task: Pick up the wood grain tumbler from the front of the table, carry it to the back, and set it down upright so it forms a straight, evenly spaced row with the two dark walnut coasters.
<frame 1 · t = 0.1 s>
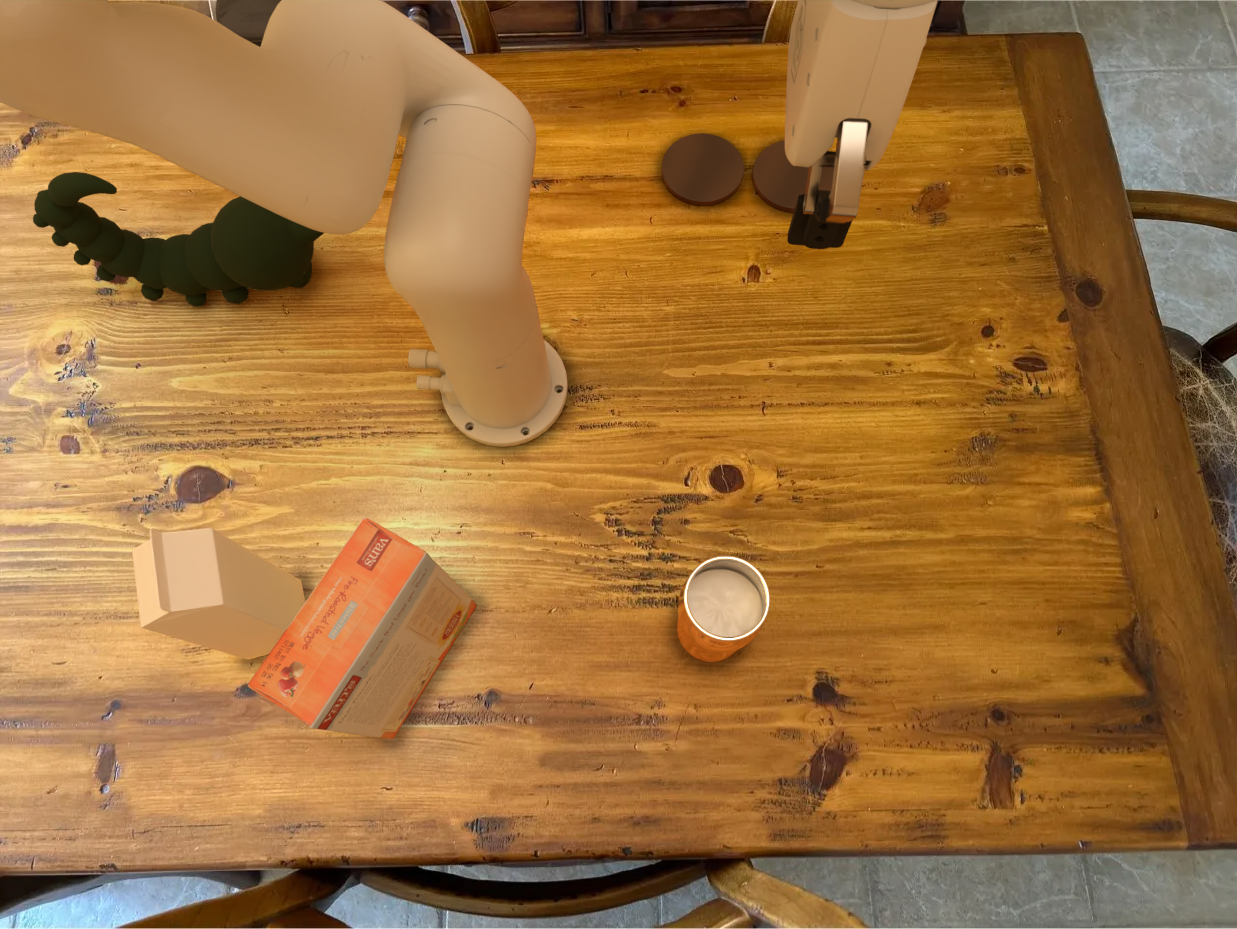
hand: (815, 172, 53), 37 cm above the table, tool pointing down, fingers open, 9 cm apart
cracker box: (410, 655, 81), on the table
coaster b: (793, 178, 97), on the table
wood grain tumbler: (709, 628, 81), on the table
coffee jar: (324, 130, 100), on the table
coaster a: (702, 171, 97), on the table
toy figurine: (239, 280, 94), on the table
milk: (276, 620, 82), on the table
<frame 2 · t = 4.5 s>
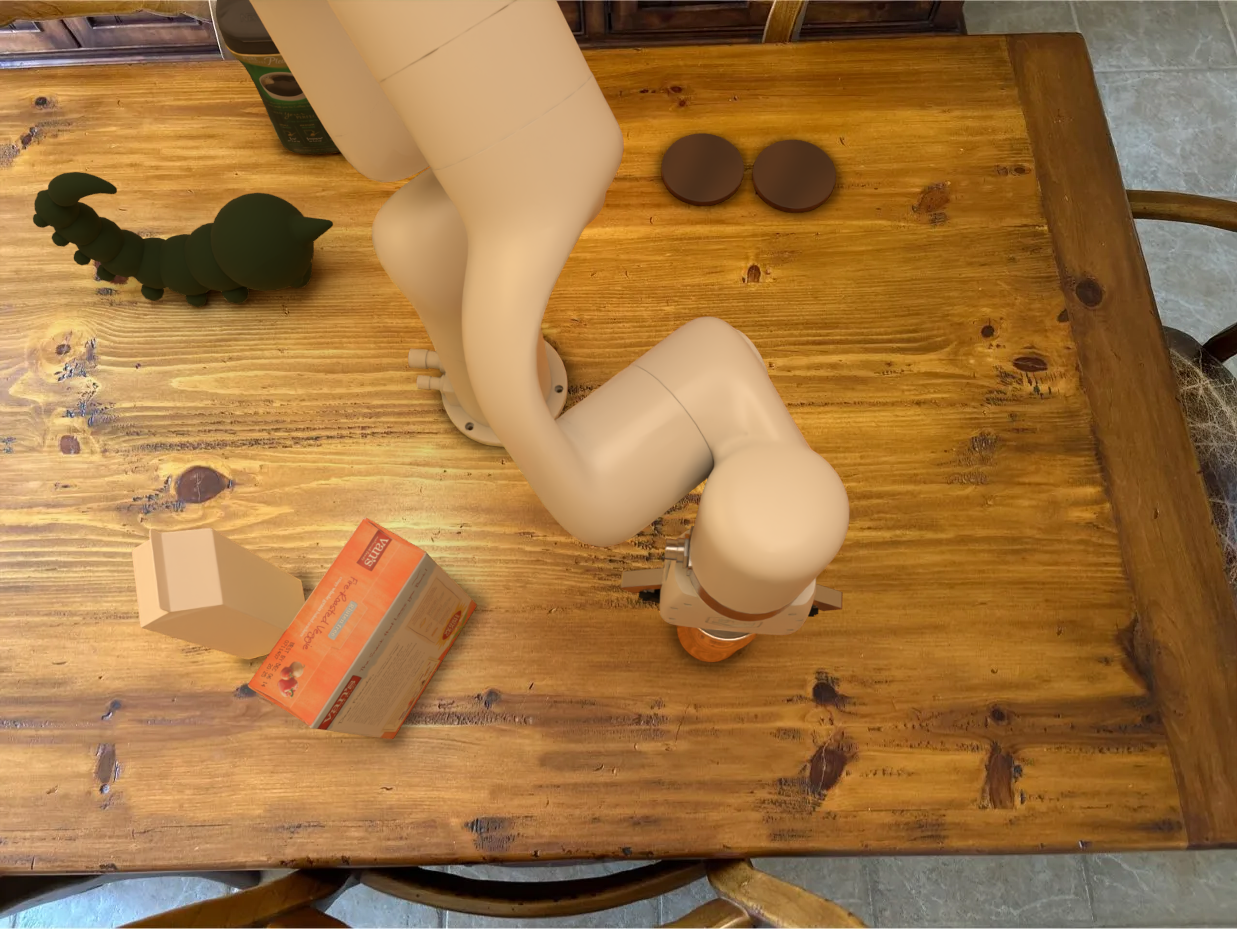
hand: (720, 609, 71), 10 cm above the table, tool pointing down, fingers closed on wood grain tumbler, 7 cm apart
wood grain tumbler: (709, 628, 81), on the table, touching gripper
everything else where it was.
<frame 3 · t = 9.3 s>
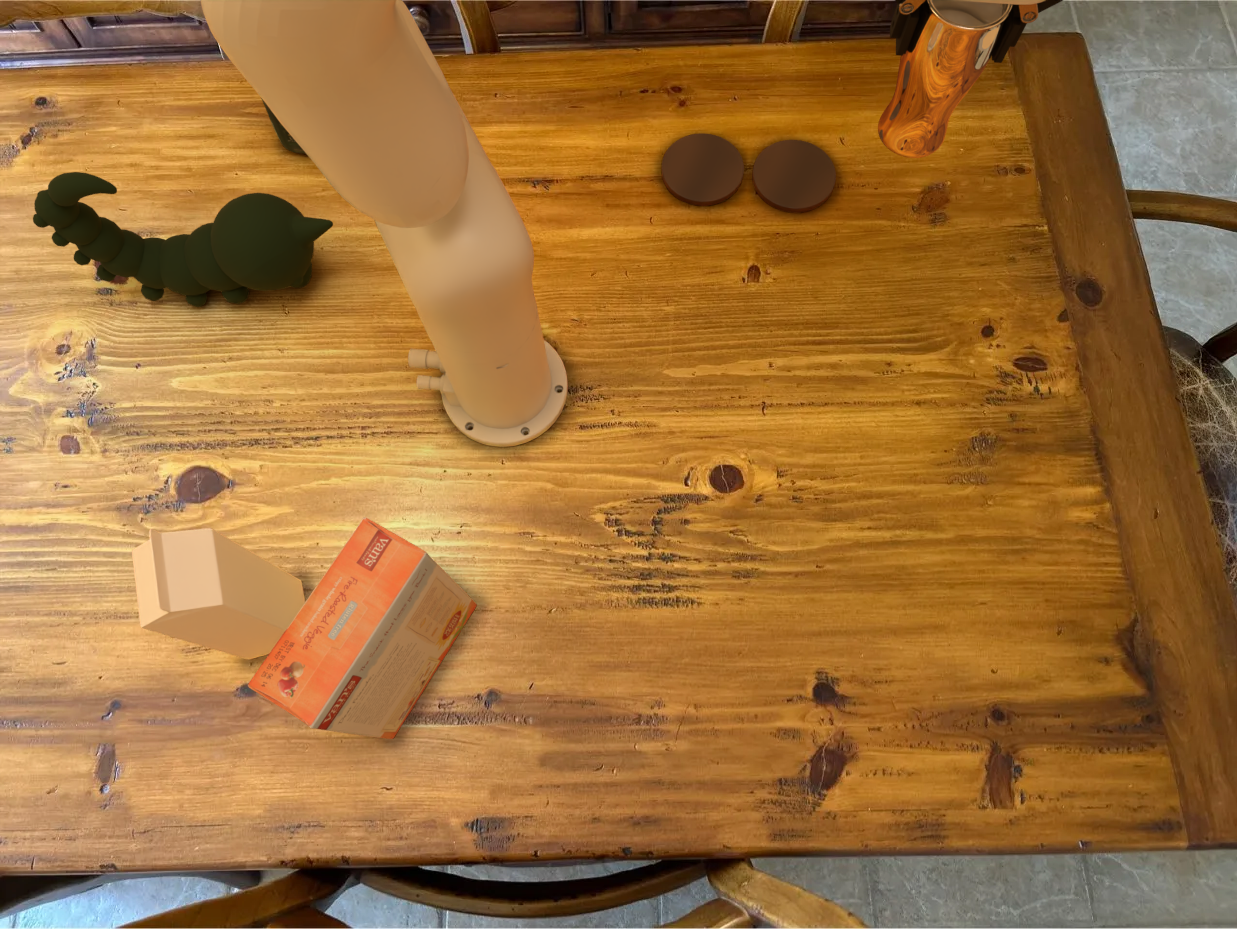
hand: (948, 44, 71), 25 cm above the table, tool pointing down, fingers closed on wood grain tumbler, 7 cm apart
wood grain tumbler: (910, 132, 81), point 15 cm above the table, touching gripper
everything else where it was.
when the fingers open (10 cm above the table, at t = 14.4 s): wood grain tumbler stays where it is, on the table.
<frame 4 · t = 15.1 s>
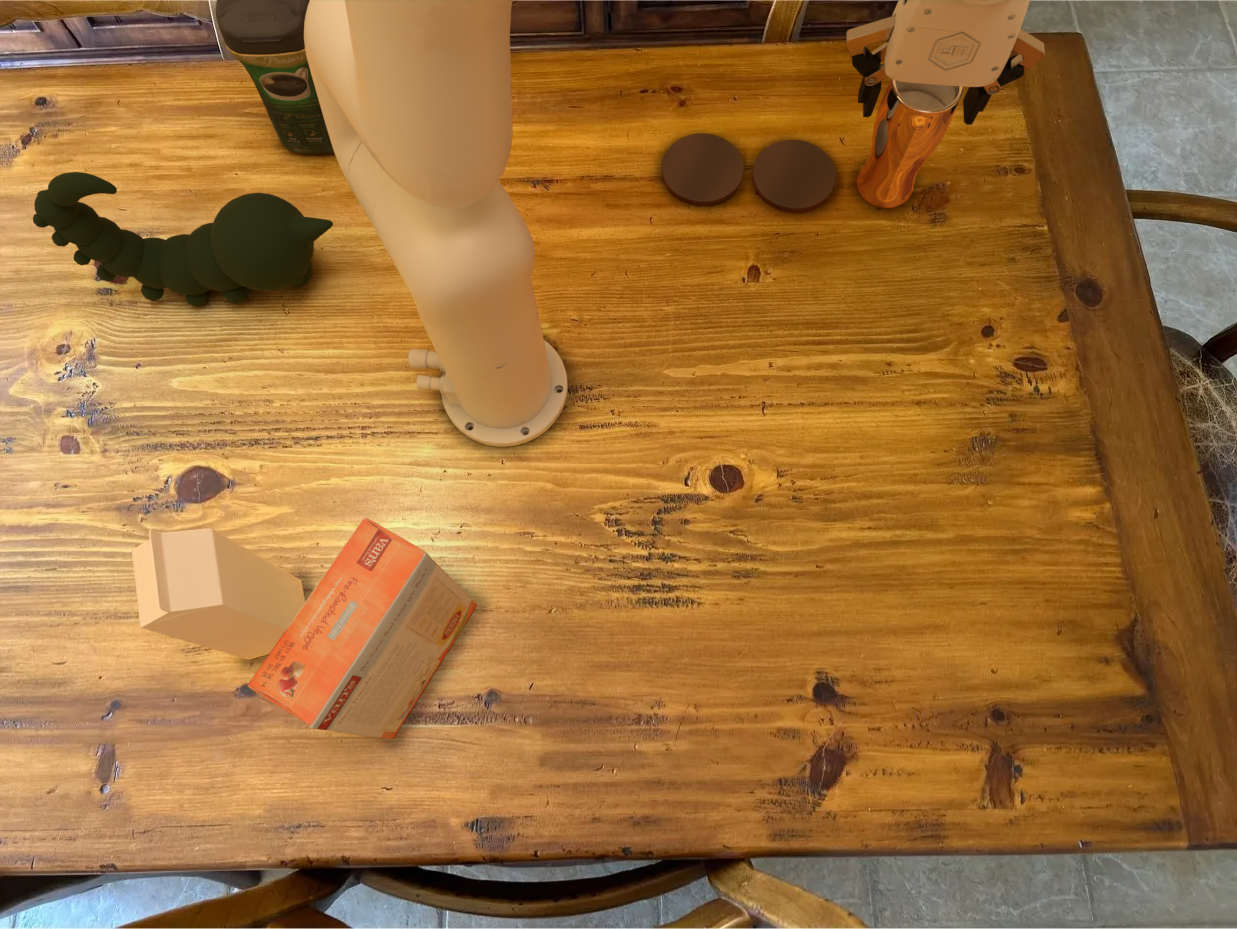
hand: (916, 109, 86), 12 cm above the table, tool pointing down, fingers open, 9 cm apart
wood grain tumbler: (883, 186, 97), on the table
everything else where it was.
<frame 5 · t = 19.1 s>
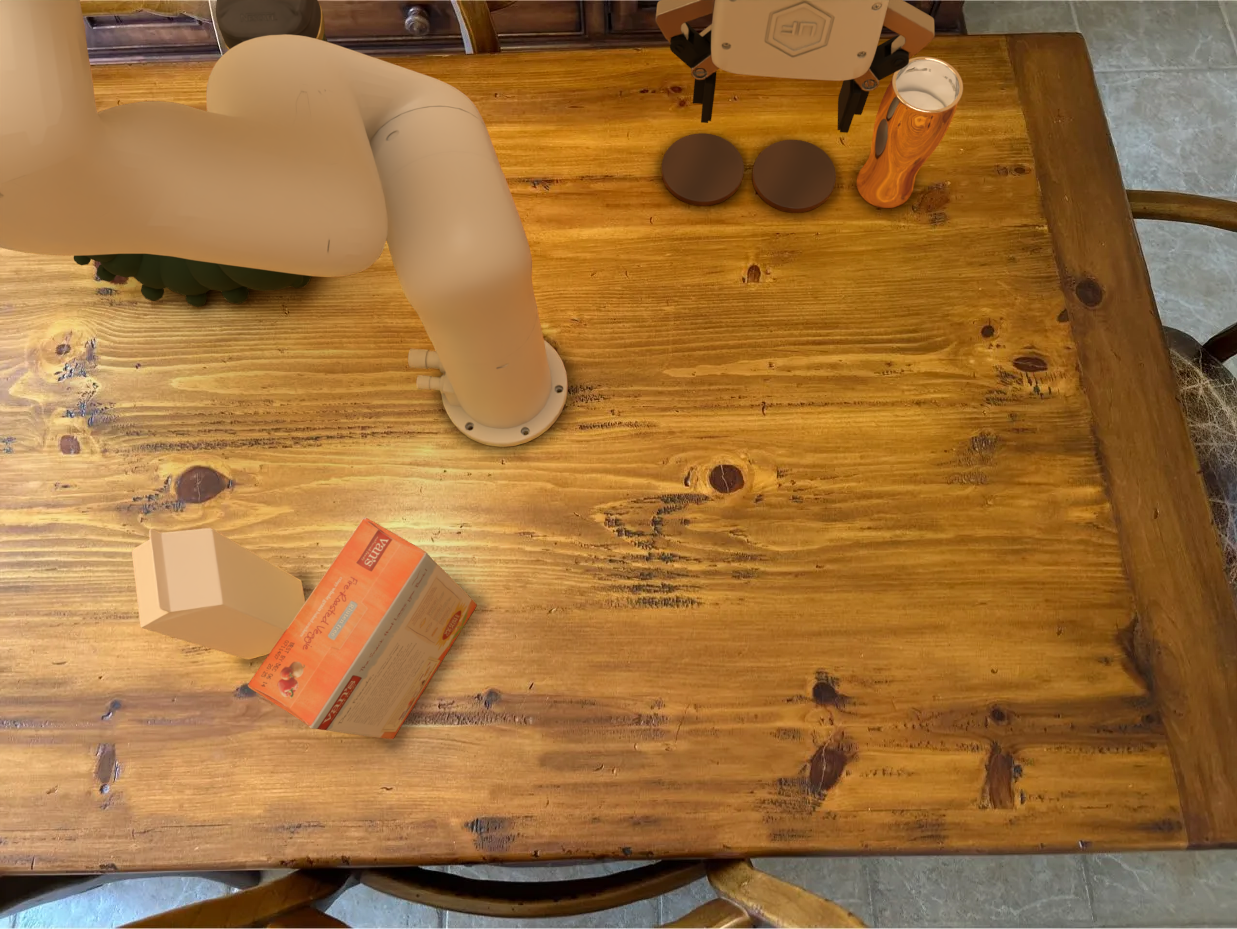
hand: (774, 111, 63), 30 cm above the table, tool pointing down, fingers open, 9 cm apart
nothing on the table moved.
at the end: wood grain tumbler 0.1 cm from the target spot on the table beside the coaster b, on the table; wood grain tumbler tilted 0°; the gripper is holding nothing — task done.
